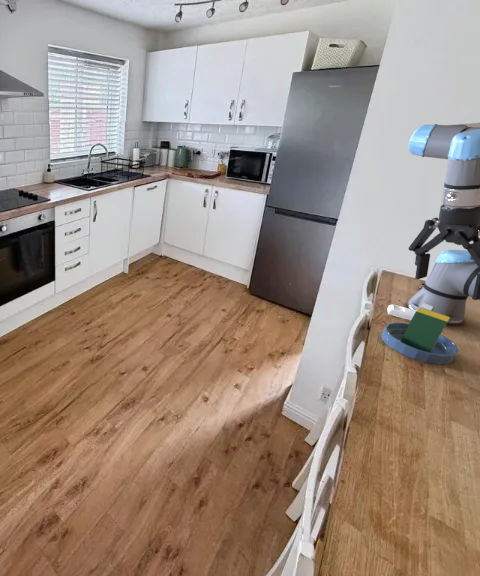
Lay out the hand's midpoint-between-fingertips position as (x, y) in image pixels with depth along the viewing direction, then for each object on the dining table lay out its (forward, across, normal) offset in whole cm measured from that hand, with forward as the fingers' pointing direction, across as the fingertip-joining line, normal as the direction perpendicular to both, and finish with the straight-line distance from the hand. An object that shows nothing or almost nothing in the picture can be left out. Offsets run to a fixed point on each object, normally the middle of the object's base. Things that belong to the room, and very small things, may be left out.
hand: (447, 287), depth 92 cm
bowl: (+25, -8, +3) cm, 26 cm away
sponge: (+24, -8, +3) cm, 26 cm away
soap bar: (+27, -24, +17) cm, 40 cm away
